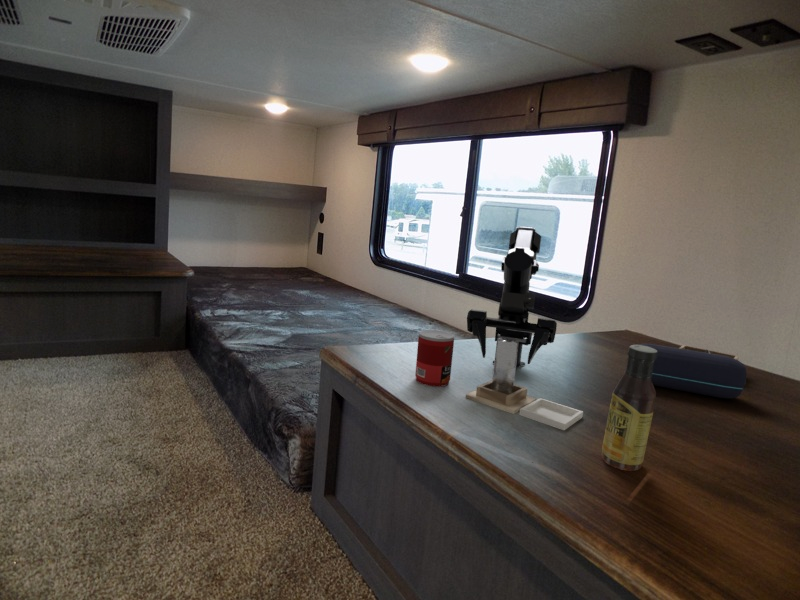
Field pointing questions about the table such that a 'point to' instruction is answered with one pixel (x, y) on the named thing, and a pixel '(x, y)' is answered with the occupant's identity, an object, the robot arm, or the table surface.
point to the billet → (505, 365)
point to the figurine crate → (708, 350)
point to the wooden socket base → (501, 397)
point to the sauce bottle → (631, 411)
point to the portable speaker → (697, 372)
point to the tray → (551, 413)
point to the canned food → (434, 357)
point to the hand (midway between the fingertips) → (505, 359)
